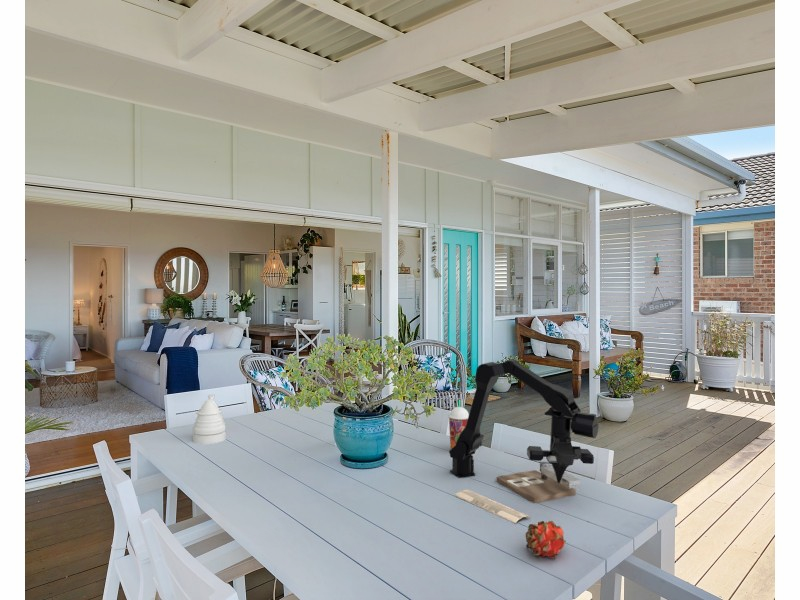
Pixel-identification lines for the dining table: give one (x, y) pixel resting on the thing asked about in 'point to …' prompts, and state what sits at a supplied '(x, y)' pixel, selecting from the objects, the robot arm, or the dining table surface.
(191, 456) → the dining table surface
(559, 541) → the dragon fruit
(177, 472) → the dining table surface
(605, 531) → the dining table surface
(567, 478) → the swing bar
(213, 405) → the honey pot
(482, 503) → the beige long curved strip
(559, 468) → the robot arm
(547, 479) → the label board
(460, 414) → the smoothie
